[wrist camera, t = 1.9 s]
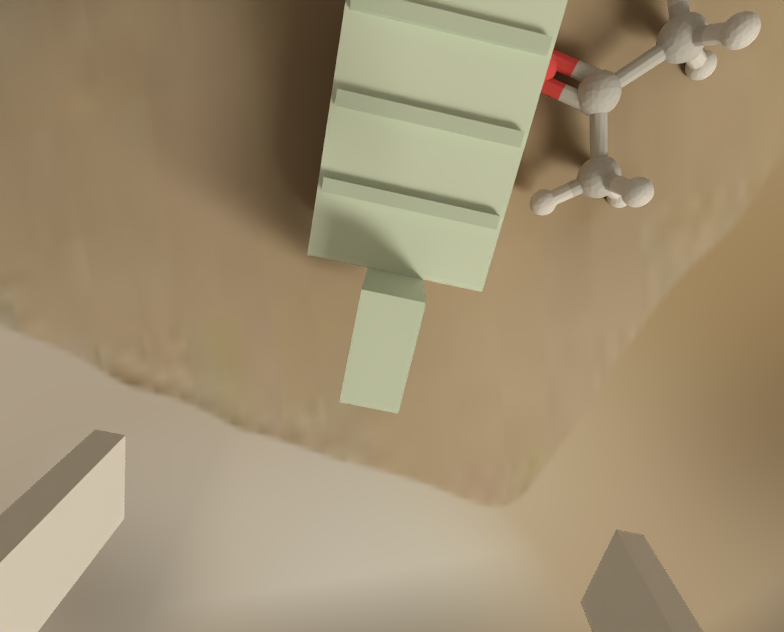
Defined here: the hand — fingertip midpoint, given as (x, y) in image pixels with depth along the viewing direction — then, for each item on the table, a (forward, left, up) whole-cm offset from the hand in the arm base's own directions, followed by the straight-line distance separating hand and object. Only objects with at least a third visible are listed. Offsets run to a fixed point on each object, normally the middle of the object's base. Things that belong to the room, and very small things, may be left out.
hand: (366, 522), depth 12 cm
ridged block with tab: (0, +8, -15) cm, 17 cm away
